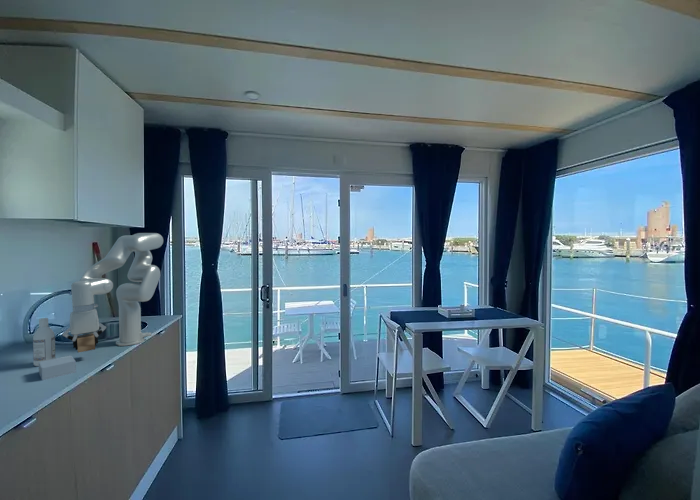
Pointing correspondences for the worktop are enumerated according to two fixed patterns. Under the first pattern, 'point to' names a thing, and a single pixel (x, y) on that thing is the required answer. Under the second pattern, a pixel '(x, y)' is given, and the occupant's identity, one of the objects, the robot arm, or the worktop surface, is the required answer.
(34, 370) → the worktop surface
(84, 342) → the walnut cube
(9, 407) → the worktop surface
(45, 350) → the bath foam
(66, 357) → the base block
